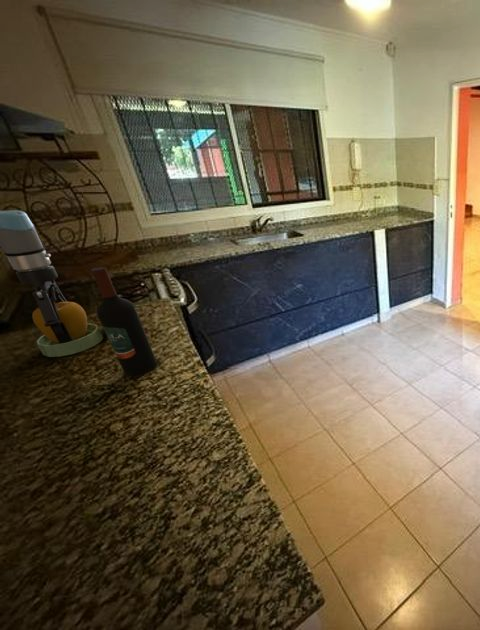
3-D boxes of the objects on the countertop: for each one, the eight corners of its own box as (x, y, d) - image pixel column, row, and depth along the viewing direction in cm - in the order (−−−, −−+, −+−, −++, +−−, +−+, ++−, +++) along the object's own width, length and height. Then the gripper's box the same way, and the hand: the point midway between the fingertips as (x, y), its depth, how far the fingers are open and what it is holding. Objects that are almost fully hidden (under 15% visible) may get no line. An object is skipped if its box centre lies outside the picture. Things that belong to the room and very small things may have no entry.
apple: (98, 329, 114) (81, 293, 108) (92, 343, 106) (73, 305, 100) (53, 338, 109) (33, 301, 103) (43, 353, 101) (20, 314, 95)
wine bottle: (161, 369, 97) (121, 268, 84) (128, 381, 92) (80, 276, 79) (154, 359, 102) (114, 262, 88) (122, 370, 97) (75, 269, 83)
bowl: (30, 359, 102) (22, 346, 100) (71, 335, 114) (65, 323, 112) (79, 358, 102) (72, 345, 100) (114, 334, 115) (109, 323, 113)
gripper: (44, 276, 90) (80, 347, 100) (59, 255, 107) (89, 318, 117) (3, 282, 86) (45, 355, 96) (25, 260, 103) (59, 324, 113)
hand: (69, 335), depth 107 cm, fingers closed on apple, 11 cm apart
